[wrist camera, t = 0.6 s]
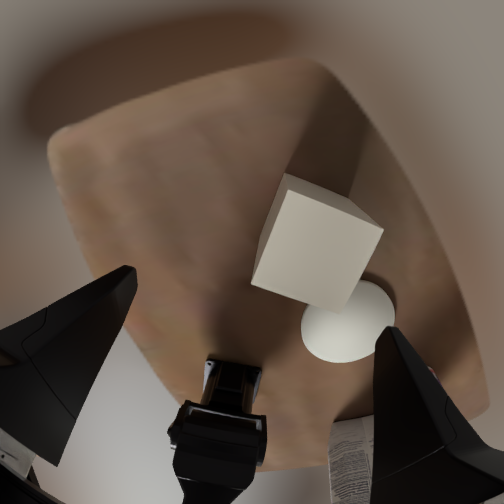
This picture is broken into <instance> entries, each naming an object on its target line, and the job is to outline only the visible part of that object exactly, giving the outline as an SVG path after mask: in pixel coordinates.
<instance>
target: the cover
mask: <svg viewBox="0 0 504 504" xmlns="http://www.w3.org/2000/svg"><path fill="white" fill-rule="evenodd" d="M383 231H384V229H383V228H382V227H380V226H379V225H378V224H377V223H376V222H375V221H374V220H373V219H371V218H370V217H369V216H368V215H367V214H366V213H365V212H363V211H362V210H361V209H360V208H359V207H358V206H356V205H355V204H354V203H353V202H352V201H351V200H349V199H348V198H346V197H344V196H341V195H339V194H337V193H334V192H332V191H330V190H327V189H325V188H322V187H320V186H318V185H315V184H313V183H310V182H308V181H305V180H303V179H300V178H298V177H295V176H292V175H290V174H287V173H285V172H284V175H283V177H282V180H281V182H280V185H279V188H278V190H277V193H276V195H275V198H274V201H273V203H272V206H271V208H270V211H269V214H268V216H267V219H266V221H265V224H264V227H263V229H262V232H261V235H260V239H259V244H258V249H257V254H256V259H255V265H254V270H253V275H252V280H251V284H252V285H255V286H258V287H261V288H263V289H266V290H269V291H272V292H275V293H278V294H281V295H284V296H286V297H289V298H292V299H295V300H298V301H301V302H304V303H307V304H310V305H313V306H316V307H319V308H322V309H325V310H328V311H331V312H334V313H337V314H340V313H341V311H342V310H343V308H344V306H345V304H346V303H347V301H348V299H349V297H350V295H351V294H352V292H353V290H354V288H355V286H356V284H357V283H358V281H359V279H360V277H361V275H362V273H363V271H364V269H365V267H366V265H367V263H368V262H369V260H370V258H371V256H372V254H373V252H374V250H375V247H376V245H377V243H378V241H379V239H380V237H381V235H382V233H383Z"/></svg>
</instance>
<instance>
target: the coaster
mask: <svg viewBox="0 0 504 504" xmlns="http://www.w3.org/2000/svg"><path fill="white" fill-rule="evenodd" d="M394 320H395V311H394V307H393V304H392V301H391V300H390V298H389V297H388V295H387V293H386V292H385V291H384V290H383V289H382V288H381V287H379V286H378V285H376V284H374V283H372V282H369V281H365V280H359V281H358V283H357V284H356V286H355V288H354V290H353V292H352V294H351V295H350V297H349V299H348V301H347V303H346V304H345V306H344V308H343V310H342V311H341V313H340V314H337V313H334V312H331V311H328V310H325V309H322V308H319V307H316V306H313V305H310V304H308V305H307V306H306V308H305V310H304V312H303V315H302V319H301V334H302V339H303V342H304V344H305V346H306V347H307V348H308V350H309V351H310V352H311V353H312V354H314V355H315V356H317V357H318V358H320V359H323V360H325V361H329V362H335V363H344V362H351V361H355V360H359V359H361V358H364V357H366V356H368V355H370V354H371V353H373V352H374V351H375V343H376V340H377V338H378V337H379V336H380V334H381V333H382V331H383V330H384V328H385V327H386V326H393V325H394Z"/></svg>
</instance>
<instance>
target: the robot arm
mask: <svg viewBox="0 0 504 504" xmlns="http://www.w3.org/2000/svg"><path fill="white" fill-rule="evenodd" d="M137 287H138V283H137V273H136V269H135V268H134V267H132V266H128V265H123V266H121V267H119V268H117V269H116V270H114V271H112V272H110V273H108V274H106V275H104V276H102V277H100V278H98V279H96V280H95V281H93V282H91V283H89V284H87V285H85V286H83V287H81V288H80V289H78V290H76V291H74V292H72V293H70V294H69V295H67V296H65V297H63V298H61V299H59V300H58V301H56V302H54V303H52V304H51V305H49V306H48V307H46V308H43V309H42V310H40V311H38V312H36V313H34V314H32V315H31V316H29V317H27V318H25V319H23V320H21V321H19V322H17V323H14V324H12V325H10V326H8V327H6V328H4V329H2V330H0V504H65V503H63V502H61V501H60V500H58V499H57V498H55V497H53V496H52V495H50V494H48V493H47V492H45V491H44V490H42V489H41V488H40V486H39V483H38V480H37V478H36V475H35V473H34V470H33V467H32V463H33V460H34V458H35V456H36V454H37V455H38V456H40V457H41V458H43V459H45V460H46V461H48V462H49V463H51V464H53V465H54V466H56V467H57V466H58V464H59V462H60V459H61V457H62V454H63V452H64V449H65V446H66V444H67V442H68V439H69V437H70V435H71V432H72V430H73V428H74V425H75V423H76V420H77V418H78V416H79V413H80V411H81V409H82V407H83V404H84V402H85V400H86V398H87V396H88V394H89V391H90V389H91V387H92V385H93V383H94V381H95V379H96V377H97V374H98V372H99V371H100V369H101V366H102V365H103V363H104V360H105V359H106V357H107V355H108V353H109V351H110V349H111V347H112V345H113V343H114V341H115V339H116V337H117V335H118V333H119V332H120V330H121V328H122V326H123V323H124V321H125V318H126V316H127V313H128V311H129V308H130V306H131V303H132V301H133V299H134V296H135V294H136V291H137ZM210 363H211V364H210ZM256 371H258V372H256ZM261 372H262V370H261V368H258V367H252V366H246V365H240V364H235V363H229V362H224V361H219V360H213V359H207V360H206V362H205V373H204V388H203V396H202V399H201V403H200V404H198V403H194V402H191V401H189V400H185V403H184V405H183V404H182V406H181V408H179V411H178V414H177V416H176V419H175V420H174V422H173V423H172V424H171V425H170V427H169V428H168V431H167V434H168V435H169V437H170V442H171V449H173V450H175V454H174V458H173V468H174V472H175V475H176V477H177V478H178V480H179V483H180V485H181V488H182V490H183V493H184V499H183V503H182V504H231V502H232V501H234V500H235V498H237V497H238V495H240V494H241V493H242V492H243V490H245V489H247V487H248V486H249V485H250V484H251V482H252V481H253V479H254V475H255V470H256V466H259V467H260V466H261V465H262V463H263V460H264V457H265V452H266V446H267V423H266V415H261V416H260V415H254V414H251V412H252V404H253V403H254V401H255V397H256V393H257V389H258V385H259V381H260V377H261ZM373 400H374V441H373V467H372V484H371V493H370V504H504V451H500V450H497V449H494V448H492V447H490V446H488V445H487V444H485V443H484V442H483V440H482V439H481V438H480V437H479V435H478V434H477V433H476V431H475V430H474V429H473V428H472V426H471V425H470V424H469V423H468V421H467V420H466V419H465V418H464V416H463V415H462V414H461V412H460V411H459V410H458V408H457V407H456V406H455V404H454V403H453V401H452V400H451V398H450V397H449V396H447V393H446V391H445V390H444V389H443V387H442V386H441V384H440V383H439V382H438V380H437V379H436V377H435V376H434V375H433V373H432V372H431V371H430V369H429V368H428V367H427V365H426V364H425V363H424V361H423V360H422V359H421V357H420V356H419V355H418V353H417V352H416V351H415V349H414V348H413V347H412V345H411V344H410V343H409V342H408V340H407V339H406V338H405V336H404V335H403V334H402V333H401V331H400V330H399V329H398V328H397V327H394V326H386V327H385V328H384V330H383V331H382V333H381V334H380V336H379V337H378V338H377V340H376V343H375V355H374V373H373Z"/></svg>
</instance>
